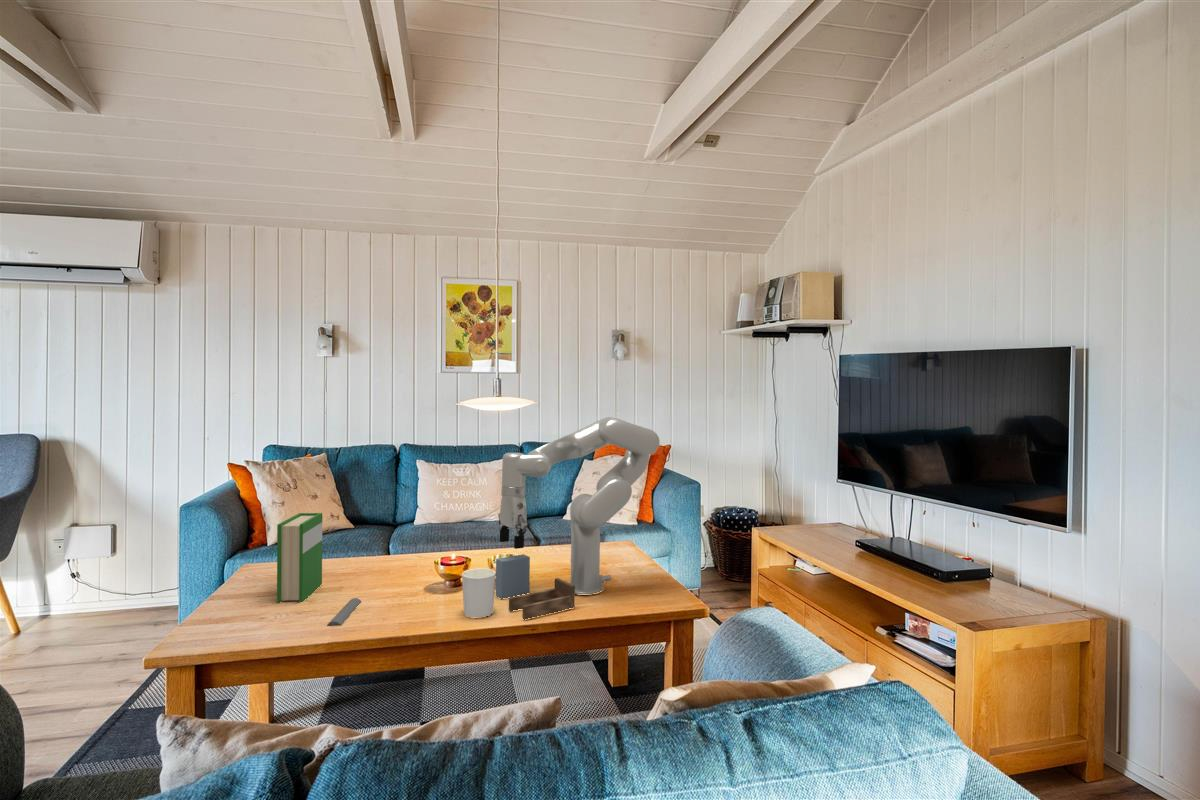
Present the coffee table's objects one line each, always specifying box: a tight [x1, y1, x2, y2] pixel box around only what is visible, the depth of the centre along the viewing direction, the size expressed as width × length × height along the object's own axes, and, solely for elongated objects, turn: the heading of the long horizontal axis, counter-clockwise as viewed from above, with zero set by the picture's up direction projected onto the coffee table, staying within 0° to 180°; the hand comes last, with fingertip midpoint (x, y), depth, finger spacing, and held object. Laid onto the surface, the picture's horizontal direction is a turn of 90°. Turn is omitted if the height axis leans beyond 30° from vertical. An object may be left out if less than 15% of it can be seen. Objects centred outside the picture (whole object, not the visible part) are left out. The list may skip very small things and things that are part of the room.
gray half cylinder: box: [326, 597, 362, 627], centre depth 181 cm, size 4×20×2 cm, turn 5°
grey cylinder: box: [461, 567, 496, 618], centre depth 183 cm, size 10×10×12 cm
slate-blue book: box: [495, 553, 531, 600], centre depth 199 cm, size 10×4×12 cm, turn 126°
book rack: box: [508, 577, 576, 621], centre depth 186 cm, size 17×9×7 cm, turn 127°
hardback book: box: [276, 512, 323, 604], centre depth 198 cm, size 18×7×24 cm, turn 6°
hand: (511, 544), depth 199 cm, fingers open, 9 cm apart
